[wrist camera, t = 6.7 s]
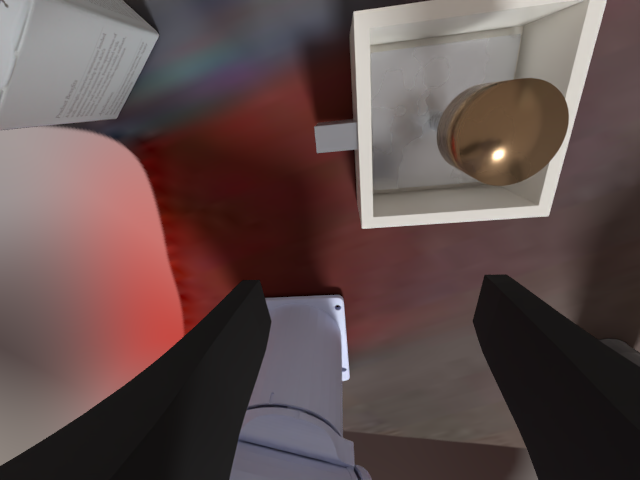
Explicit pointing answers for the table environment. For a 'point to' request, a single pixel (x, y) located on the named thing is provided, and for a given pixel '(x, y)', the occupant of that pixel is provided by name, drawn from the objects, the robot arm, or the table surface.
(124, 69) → the skincare box
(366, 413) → the table surface
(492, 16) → the white framed panel box
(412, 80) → the plunger
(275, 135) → the table surface
